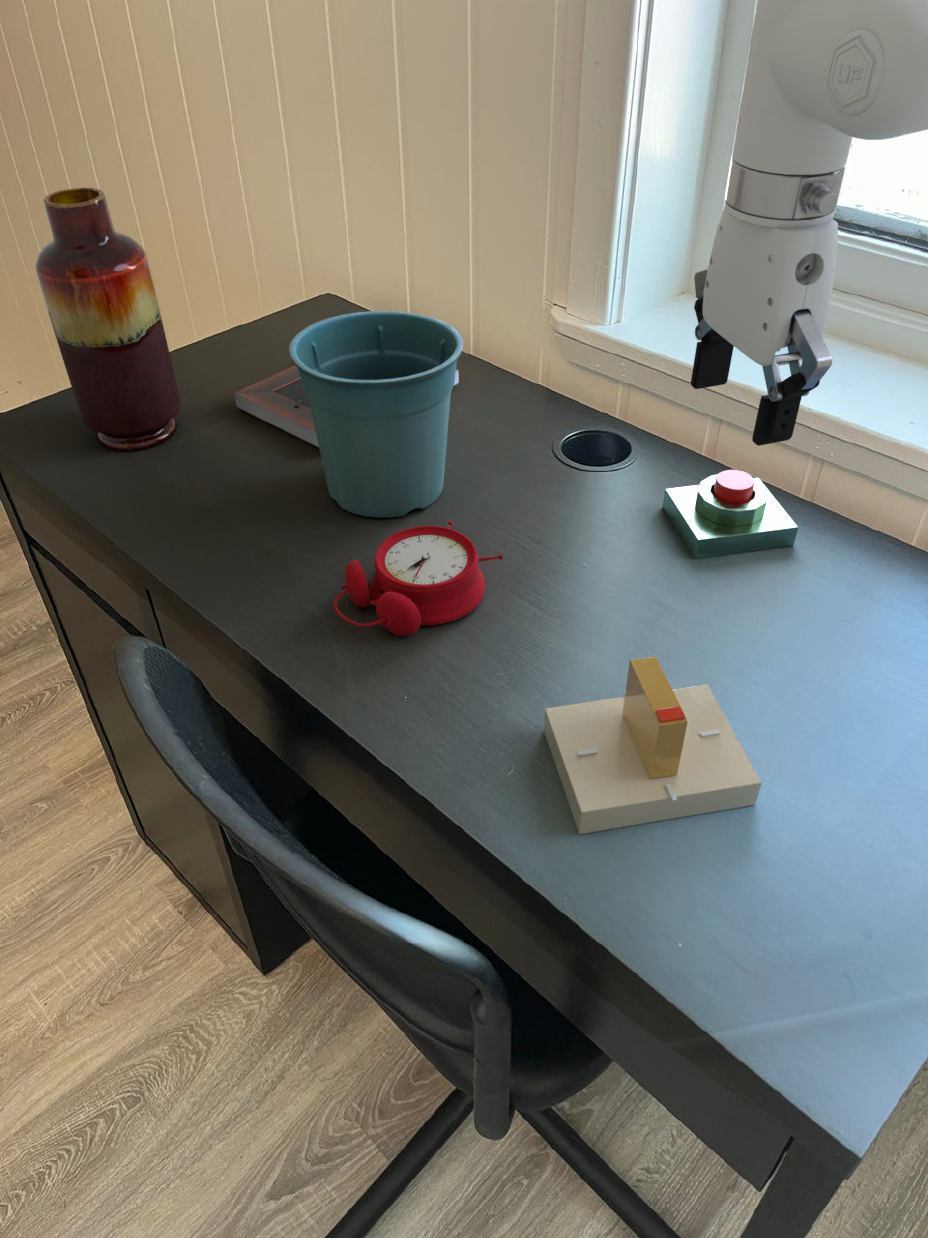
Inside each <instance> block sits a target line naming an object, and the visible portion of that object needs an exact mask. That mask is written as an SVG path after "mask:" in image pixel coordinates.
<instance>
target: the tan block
mask: <svg viewBox="0 0 928 1238" xmlns="http://www.w3.org/2000/svg"><path fill="white" fill-rule="evenodd" d="M626 677H627V678H626V685H625V691H626V692H625V695H624V697H625V699H624V707H623V715H624V718H625V720H626V723H627V725H628V727H629V730H630V732H631V734H632V737H633V739H634V742H635V744H636V746H637V749H638V751H639V753H640V756H641V758H642V761H643V763H644V765H645V768H646V770H647V772H648V775H649V777H650V779H654V778H661V777H667V776H674V775H677V773H678V768H679V763H680V758H681V753H682V748H683V743H684V738H685V733H686V728H687V723H688V720H687V718H686V716H685V714H684V712H683V710H682V708H681V706H680V704H679V702H678V700H677V698H676V696H675V694H674V692H673V690H672V689H673V688H672V685H671V684H670V682H669V680H668V678H667V675H666V674H665V671H664V670H663V667H662V665H661V664H660V661H659V659H658V657H657V656H647V657H641V658H634V659H629V663H628V669H627V676H626Z"/></svg>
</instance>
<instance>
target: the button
mask: <svg viewBox="0 0 928 1238" xmlns="http://www.w3.org/2000/svg"><path fill="white" fill-rule="evenodd" d="M716 475H717V476H716V480H715V486H714V491H713V494H714V496H715V498H716V499H718V500H720V501H722V502H725V503H731V504H743V503H747V502H749V501H750V500H751V497H752V493H753V488H754V483H755V481H754V479H753V478H754V477H753V476H752V475H751V474H750V473H747V472H745V471H742V470H737V469H726V470H722V471H720V472H718V473H717V474H716Z"/></svg>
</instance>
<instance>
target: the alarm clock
mask: <svg viewBox="0 0 928 1238" xmlns="http://www.w3.org/2000/svg"><path fill="white" fill-rule="evenodd" d="M453 525H454V522H453V521H451V520H449V521H448V522H447V526H446V527H445V526H440V525H439V526H438V525H420V526H413V527H409V528H406V529H403V530H399V531H397V532H395V533H393V534H391V535H390V536H388V537H387V538H385V539H384V540H383V541H382V542H381V543H380V545H379V546H378V548H377V550H376V552H375V555H374V559H373V563H374V564H373V565H374V570H375V573H374V575H373V576H372V578H371V581H370V589H369V584H368V580H367V578H366V574H365V571H364V569H363V567H362V564H361V562H360V561H359V560H358V559H355V560H352V561H350V562H348V564H347V565H345V570H344V579H345V584H343V585H340V589H341V590H343V591H342V592H340V593H339V595H337V596H336V597H335V598H334V601H333V609H334V611H335V612H336V614H337V615H338V616H339V617H341V619H342V620H344V621H346V622H347V623H348V624H351V625H353V626H356V627H359V628H360V627H361V628H362V627H363V628H366V627H372V626H375V625H378V624H380V625H381V626H382V627H383V628H384V629H385V630H387V631H388V632H390V633H391V634H393V635H395V636H400V637H407V636H412V635H413V634H415V633H416V632H417V631H418V630H419V629H420V627H421V626H436V625H437V626H438V625H443V624H446V623H447V624H448V623H450V622H454V621H456V620H458V619H461V618H463V617H465V616H467V615H468V614H470V613H471V612H472V611H474V610H475V609H476V608H477V607H478V606H479V604H481V601H482V600H483V598H484V595H485V591H486V580H485V577H484V574H483V572H482V570H481V569H480V568H479V562H485V561H492V560H497V559H499V560H504V555H503V554H499V555H497V556H485V557H484V556H483V557H479V554H478V551H477V548H476V546H475V544H474V543H473V541H472V540H471V539H470V538H469V537H467V536H466V535H465V534H463V533H462V532H459V531H458V530H455V529H452V528H451V527H452V526H453ZM347 593H348V595H349V597H350V599H351V601H352V603H353V604H354V605H355V606H357V607H359V608H369V607H370V606H371V605H372V606H375V614H376V618H377V620H374V621H372V622H368V623H359V622H356V621H353V620H351V619H350V618H348V617H346V616H345V615H344V614H342V612H341V611H340V610H339V608H338V601H339V600H340V599H341V598H342V597H343V596H344V595H345V594H347ZM370 596H371V597H370Z"/></svg>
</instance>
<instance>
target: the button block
mask: <svg viewBox="0 0 928 1238" xmlns="http://www.w3.org/2000/svg"><path fill="white" fill-rule="evenodd" d="M717 475H718V474H712V475H710V476H708V477H706V478H705V479H703V480H701V481H700V482H699V484H695V485H687V486H686V485H685V486H678V487H677V486H676V487H669V488H665V489H664V495H663V501H662V509H663V510H664V512H665V513H666V515H667V517H668V518H669V519H670V521H671V523H672V524H673V526H674V528H675V529H676V531H677V533H678V534H679V536H680V537H681V539H682V540H683V542H684V544H685V545H686V547H687V548H688V550H689V552H690V553H691V555H692V556H693V558H694V559H695V560H696V559H703V558H711V557H720V556H724V555H726V556H727V555H732V554H733V555H734V554H741V553H748V552H755V551H756V552H757V551H765V550H772V549H781V548H787V547H793V546H794V545H795V541H796V539H797V538H796V537H797V534H798V530H799V526H798V525H797V524H796V523H795V521H794V520H793V519H792V517H791V516H790V515H789V513H787V511H786V510H785V509H784V507H783V506H782V505H781V504H780V502H779V501H778V500H777V499H776V498H775V496H774V495H773V494H772V493H771V492H770V490H769V488H768V487H767V486H766V485H765V483H764V482H763V481H762V480H761V479H760V478H759V477H753V479H754V481H755V483H754V488H753V493H752V497H751V500H750V501H749V502H747V503H743V504H731V503H725V502H722V501H720V500H718V499H716V498H715V496H714V494H713V491H714V486H715V480H716V476H717Z"/></svg>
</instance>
